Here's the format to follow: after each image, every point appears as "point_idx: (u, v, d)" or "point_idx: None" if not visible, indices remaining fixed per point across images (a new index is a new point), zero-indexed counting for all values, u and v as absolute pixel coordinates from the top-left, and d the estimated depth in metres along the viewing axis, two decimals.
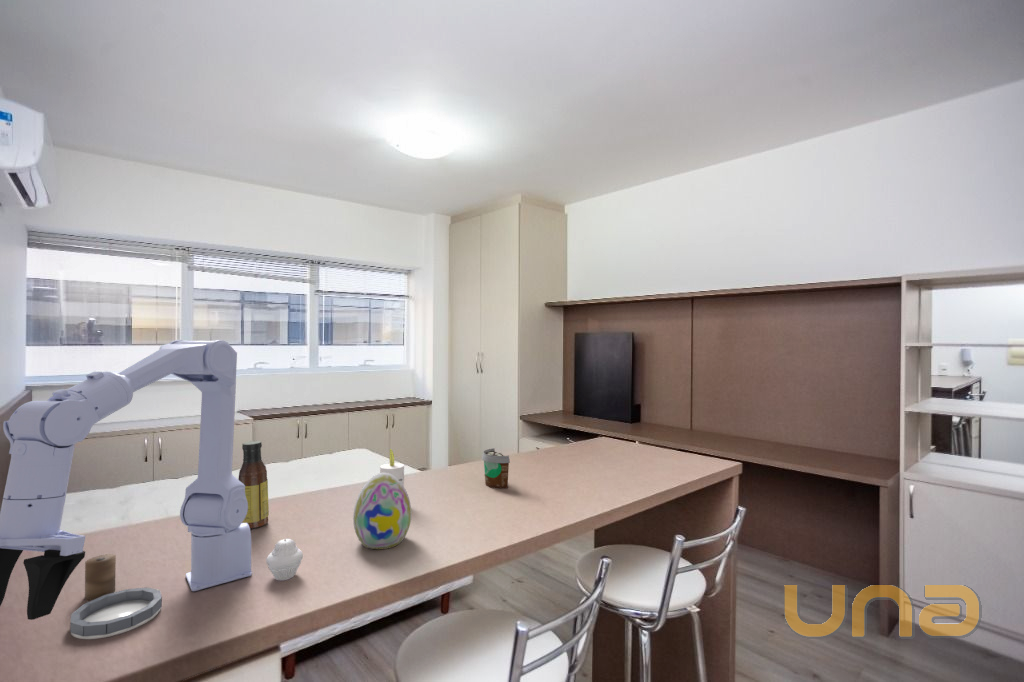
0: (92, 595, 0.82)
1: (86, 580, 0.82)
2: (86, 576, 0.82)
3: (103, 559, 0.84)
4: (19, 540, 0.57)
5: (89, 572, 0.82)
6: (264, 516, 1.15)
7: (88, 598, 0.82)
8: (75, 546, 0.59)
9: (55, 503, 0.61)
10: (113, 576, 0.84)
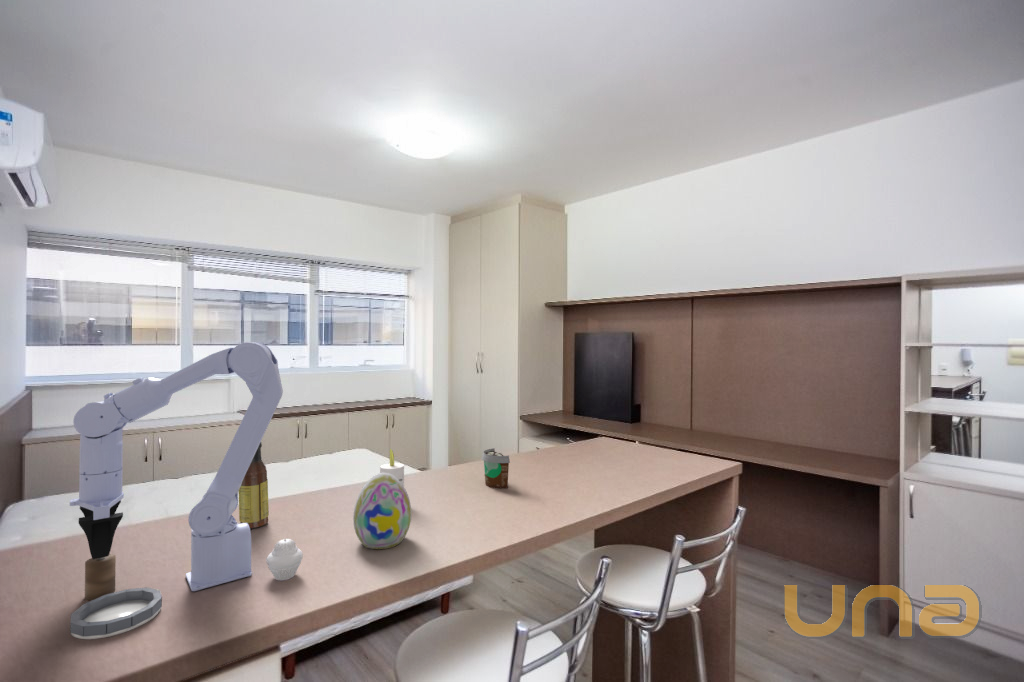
0: (92, 595, 0.82)
1: (86, 580, 0.82)
2: (86, 576, 0.82)
3: (103, 559, 0.84)
4: (81, 503, 0.80)
5: (89, 572, 0.82)
6: (264, 516, 1.15)
7: (88, 598, 0.82)
8: (101, 513, 0.78)
9: (103, 478, 0.82)
10: (113, 576, 0.84)
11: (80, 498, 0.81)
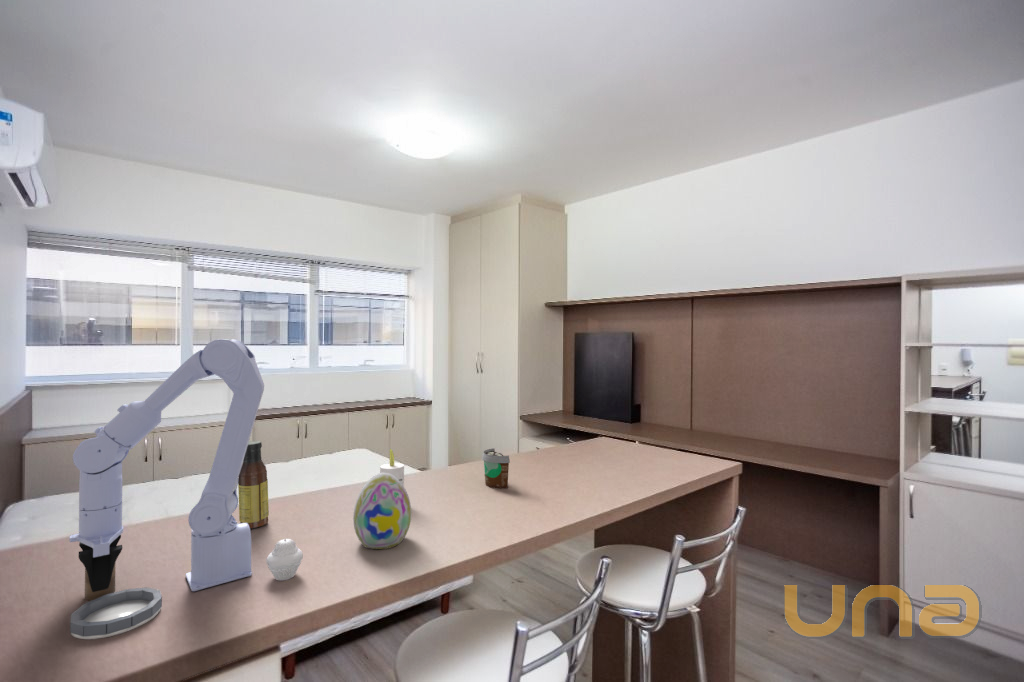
0: (92, 595, 0.82)
1: (86, 580, 0.82)
2: (86, 576, 0.82)
3: None
4: (81, 539, 0.80)
5: None
6: (264, 516, 1.15)
7: (88, 598, 0.82)
8: (101, 550, 0.78)
9: (103, 513, 0.82)
10: (113, 576, 0.84)
11: (80, 534, 0.81)
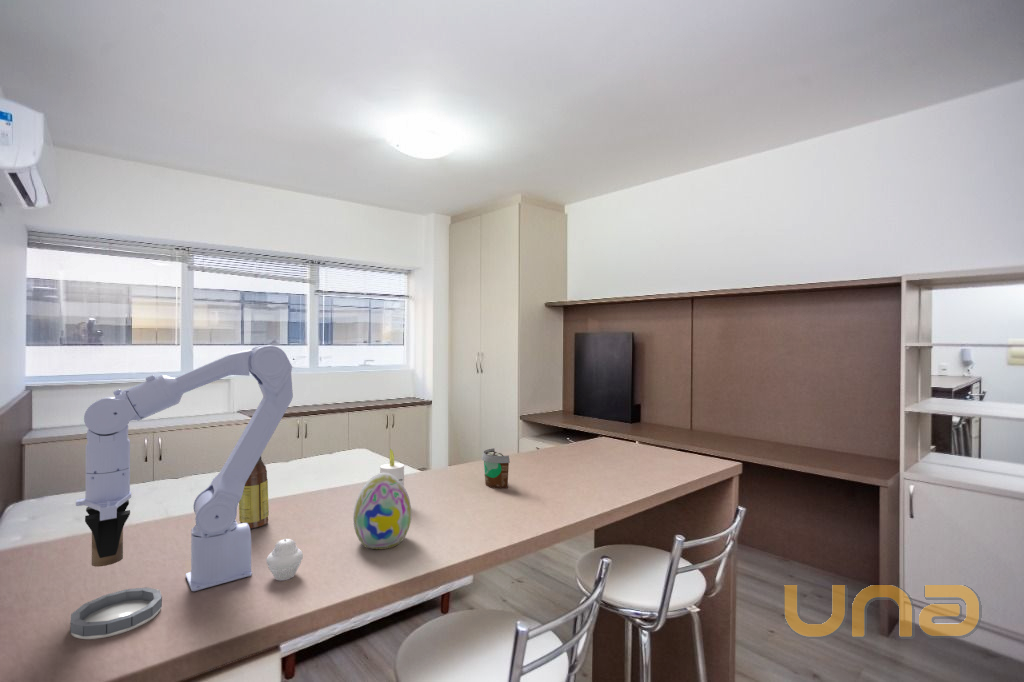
0: (99, 561, 0.79)
1: (93, 546, 0.79)
2: (93, 542, 0.79)
3: None
4: (88, 503, 0.78)
5: None
6: (264, 516, 1.15)
7: (95, 564, 0.79)
8: (108, 513, 0.75)
9: (110, 477, 0.79)
10: (120, 543, 0.81)
11: (86, 498, 0.78)
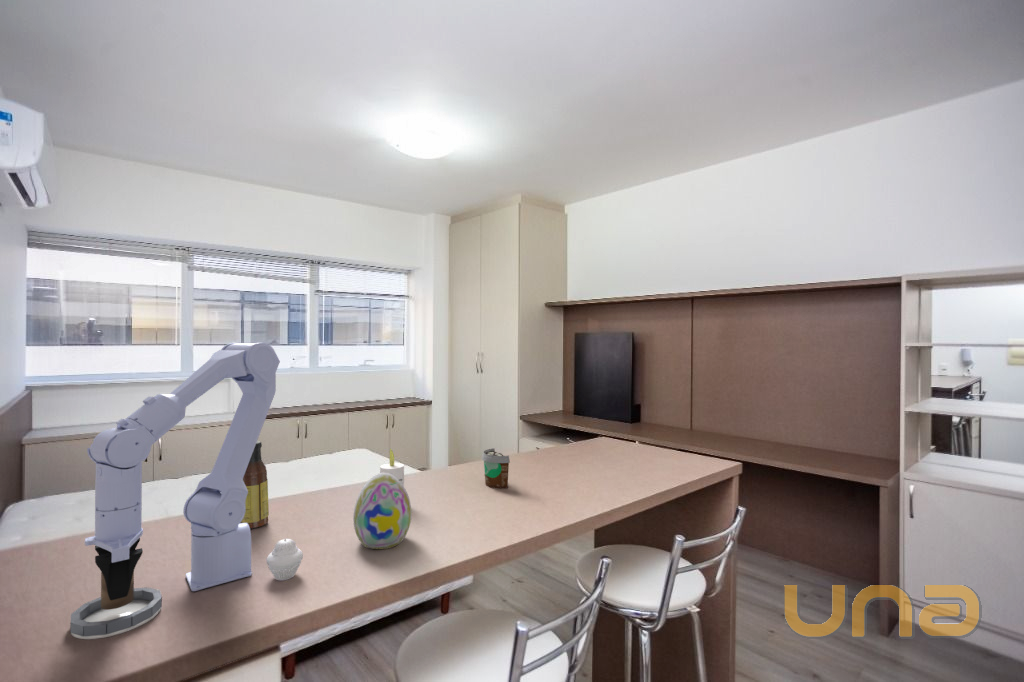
0: (109, 604, 0.74)
1: (102, 588, 0.74)
2: (102, 583, 0.74)
3: None
4: (98, 542, 0.73)
5: None
6: (264, 516, 1.15)
7: (105, 607, 0.74)
8: (120, 554, 0.71)
9: (122, 514, 0.74)
10: (131, 583, 0.77)
11: (96, 536, 0.74)
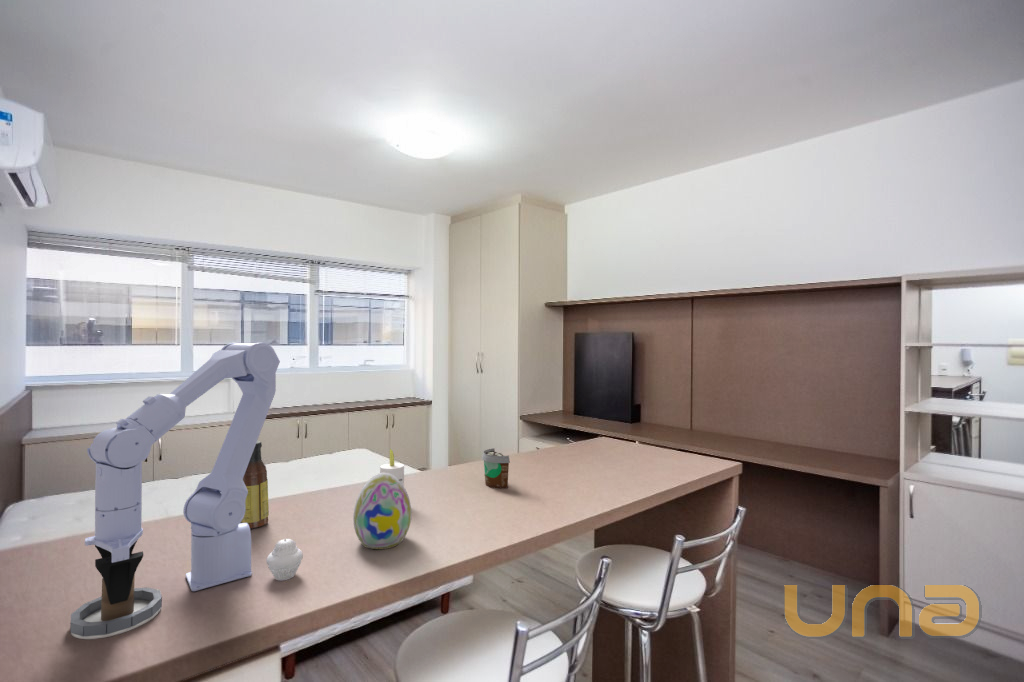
0: (109, 616, 0.74)
1: (103, 600, 0.75)
2: (103, 595, 0.75)
3: None
4: (98, 542, 0.73)
5: (106, 590, 0.74)
6: (264, 516, 1.15)
7: (105, 619, 0.74)
8: (120, 554, 0.71)
9: (122, 514, 0.74)
10: (132, 594, 0.77)
11: (96, 536, 0.74)
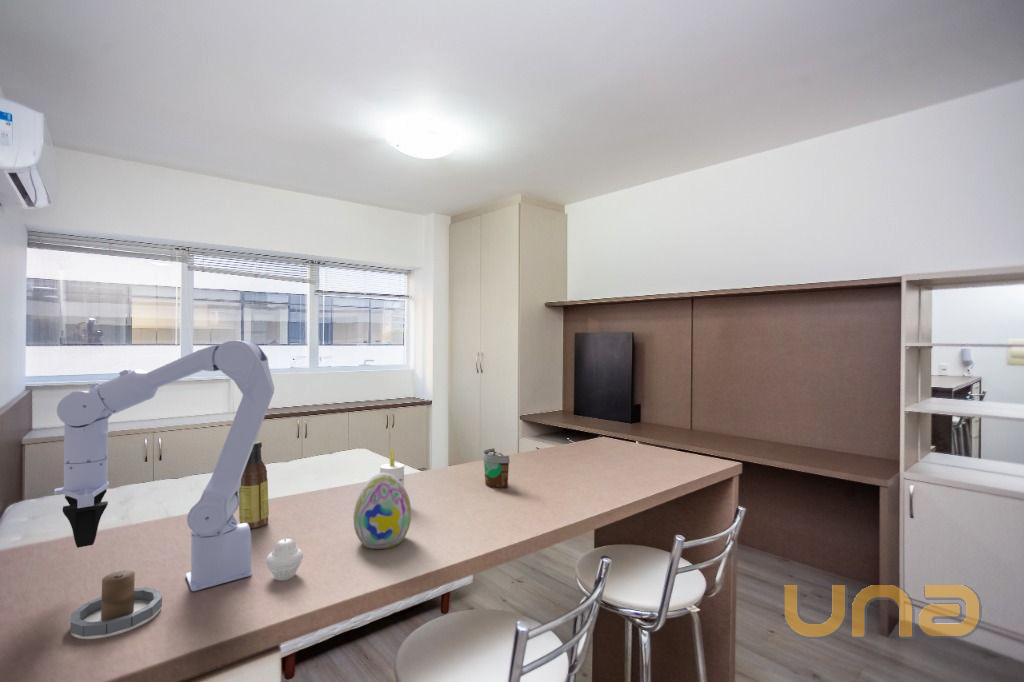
0: (110, 616, 0.74)
1: (103, 600, 0.74)
2: (103, 595, 0.75)
3: (121, 576, 0.76)
4: (66, 492, 0.81)
5: (106, 591, 0.74)
6: (264, 516, 1.15)
7: (105, 619, 0.74)
8: (85, 501, 0.78)
9: (88, 467, 0.82)
10: (132, 595, 0.77)
11: (65, 487, 0.81)
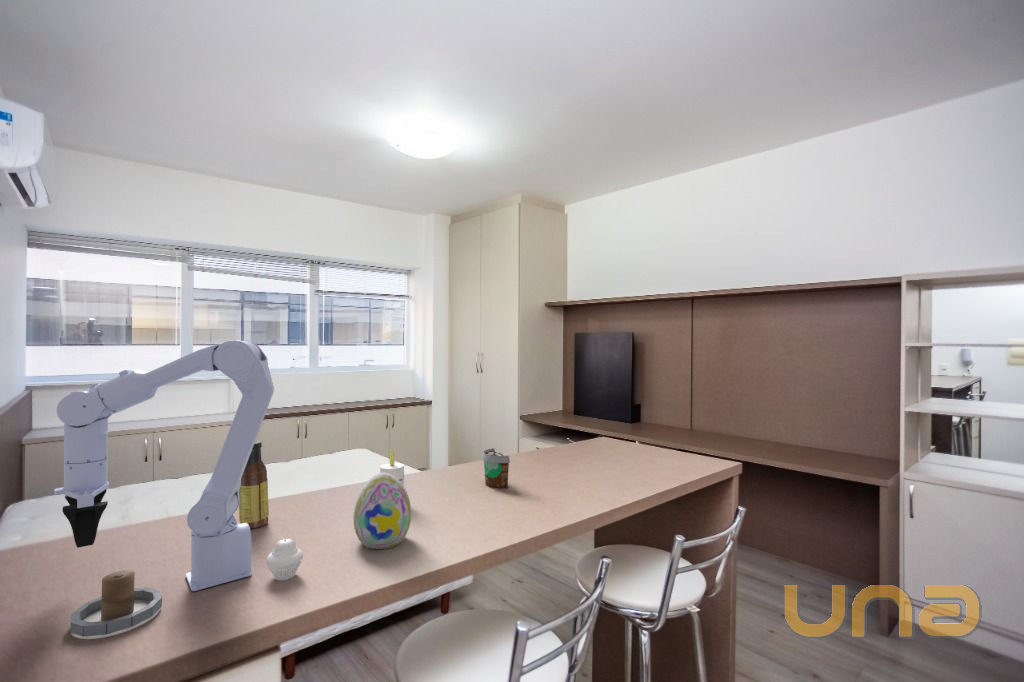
0: (110, 616, 0.74)
1: (103, 600, 0.74)
2: (103, 595, 0.75)
3: (121, 576, 0.76)
4: (66, 492, 0.81)
5: (107, 591, 0.74)
6: (264, 516, 1.15)
7: (105, 619, 0.74)
8: (85, 501, 0.78)
9: (88, 467, 0.82)
10: (132, 594, 0.77)
11: (65, 487, 0.81)
